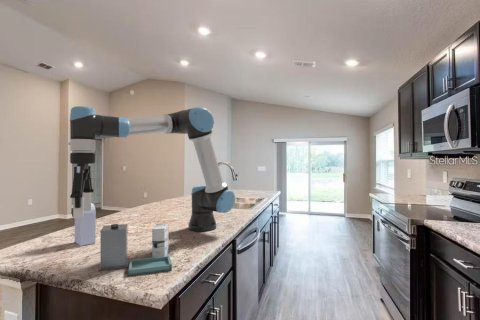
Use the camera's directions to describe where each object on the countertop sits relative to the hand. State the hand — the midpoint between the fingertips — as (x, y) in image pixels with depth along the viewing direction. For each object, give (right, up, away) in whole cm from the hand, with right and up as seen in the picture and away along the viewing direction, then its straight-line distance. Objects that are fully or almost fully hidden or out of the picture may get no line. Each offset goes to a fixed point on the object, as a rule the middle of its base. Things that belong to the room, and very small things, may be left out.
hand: (82, 214), depth 95 cm
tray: (+23, -19, +1) cm, 30 cm away
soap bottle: (-15, -19, +30) cm, 38 cm away
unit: (+9, -19, +3) cm, 21 cm away
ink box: (+23, -19, +12) cm, 32 cm away
